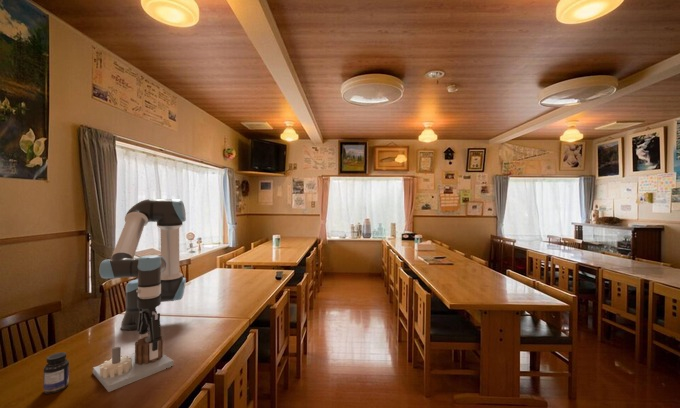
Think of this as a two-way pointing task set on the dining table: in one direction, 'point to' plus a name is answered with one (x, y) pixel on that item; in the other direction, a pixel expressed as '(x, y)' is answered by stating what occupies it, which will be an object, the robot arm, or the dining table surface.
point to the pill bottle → (56, 373)
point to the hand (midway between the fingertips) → (148, 354)
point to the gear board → (127, 369)
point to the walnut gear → (146, 351)
